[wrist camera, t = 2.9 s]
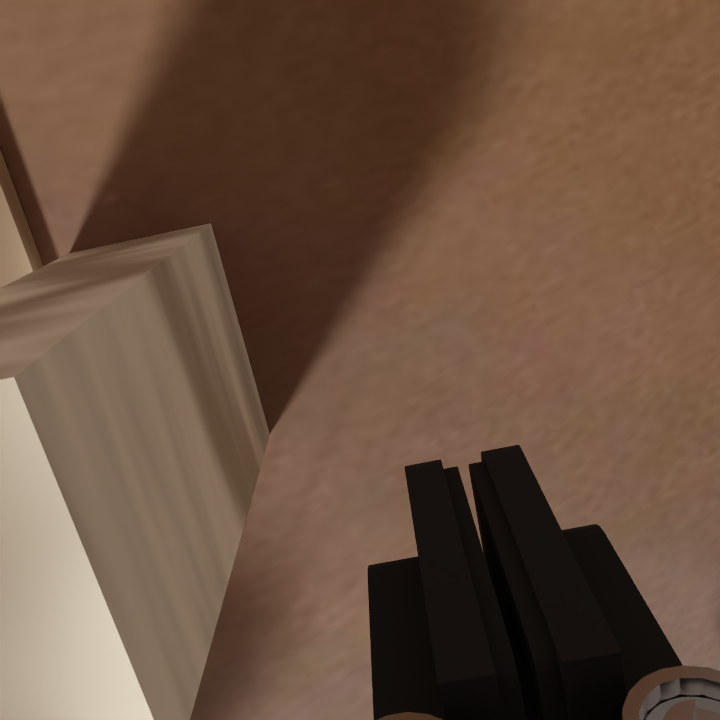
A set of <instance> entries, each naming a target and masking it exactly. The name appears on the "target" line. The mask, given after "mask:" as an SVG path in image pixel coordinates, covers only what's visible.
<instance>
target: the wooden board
mask: <svg viewBox="0 0 720 720" xmlns="http://www.w3.org/2000/svg"><path fill="white" fill-rule="evenodd" d="M41 267H43V263H42V261H41V258H40V255H39V252H38V250H37V247H36V244H35V242H34V239H33V236H32V234H31V231H30V228H29V225H28V223H27V220H26V217H25V215H24V212H23V209H22V207H21V204H20V201H19V198H18V196H17V193H16V190H15V188H14V185H13V182H12V180H11V177H10V174H9V171H8V169H7V166H6V163H5V161H4V158H3V155H2V153H1V150H0V288H1V287H3V286H5V285H7V284H9V283H11V282H13V281H15V280H17V279H19V278H21V277H23V276H25V275H27V274H29V273H31V272H33V271H35V270H37V269H39V268H41Z"/></svg>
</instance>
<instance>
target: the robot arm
mask: <svg viewBox="0 0 720 720" xmlns="http://www.w3.org/2000/svg"><path fill="white" fill-rule="evenodd" d="M481 460H482V462H478V463H473V464H469V471H470V477H471V483H472V489H473V495H474V501H475V506H476V512H477V518H478V524H479V530H480V536H481V541H482V547H483V550H482V547H481V544H480V540H479V537H478V534H477V530H476V527H475V524H474V520H473V517H472V513H471V510H470V507H469V503H468V500H467V497H466V493H465V490H464V487H463V483H462V480H461V476H460V473H459V470H458V467H452V468H447V469H443V466H442V462H441V460H435V461H430V462H425V463H420V464H414V465H409V466H405V473H406V479H407V486H408V492H409V499H410V505H411V512H412V518H413V525H414V531H415V538H416V544H417V551H418V557H412V558H407V559H401V560H396V561H390V562H385V563H379V564H374V565H369V566H368V593H369V616H370V640H371V664H372V687H373V711H374V720H720V671H718V670H715V669H712V668H708V667H697V666H683V665H682V663H681V662H680V660H679V658H678V657H677V655H676V653H675V652H674V650H673V648H672V647H671V645H670V643H669V641H668V640H667V638H666V636H665V635H664V633H663V631H662V630H661V628H660V626H659V624H658V623H657V621H656V619H655V618H654V616H653V614H652V613H651V611H650V609H649V607H648V606H647V604H646V602H645V601H644V599H643V597H642V596H641V594H640V592H639V590H638V589H637V587H636V585H635V584H634V582H633V580H632V579H631V577H630V575H629V573H628V572H627V570H626V568H625V567H624V565H623V563H622V562H621V560H620V558H619V557H618V555H617V553H616V551H615V550H614V548H613V546H612V545H611V543H610V541H609V540H608V538H607V536H606V534H605V533H604V531H603V530H602V529H601V527H600V526H598V525H596V524H594V525H588V526H583V527H577V528H572V529H566V530H561V528H560V526H559V524H558V522H557V520H556V518H555V516H554V514H553V512H552V510H551V508H550V506H549V504H548V502H547V500H546V498H545V496H544V494H543V492H542V490H541V488H540V486H539V484H538V482H537V480H536V478H535V476H534V474H533V472H532V470H531V468H530V465H529V463H528V461H527V459H526V457H525V455H524V453H523V451H522V449H521V447H520V446H519V445H515V446H509V447H504V448H499V449H493V450H488V451H483V452H481ZM483 553H484V554H483Z"/></svg>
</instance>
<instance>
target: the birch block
mask: <svg viewBox="0 0 720 720" xmlns="http://www.w3.org/2000/svg"><path fill="white" fill-rule="evenodd" d="M269 435H270V433H269V429H268V426H267V422H266V418H265V415H264V411H263V408H262V404H261V401H260V397H259V393H258V390H257V386H256V383H255V379H254V376H253V372H252V368H251V365H250V361H249V358H248V354H247V350H246V347H245V343H244V340H243V336H242V333H241V329H240V325H239V322H238V318H237V315H236V311H235V308H234V304H233V300H232V297H231V293H230V290H229V286H228V283H227V279H226V275H225V272H224V268H223V265H222V261H221V257H220V254H219V250H218V247H217V243H216V240H215V236H214V232H213V229H212V225H211V223H209V224H205V225H200V226H195V227H190V228H186V229H181V230H176V231H172V232H167V233H162V234H157V235H153V236H148V237H143V238H138V239H134V240H129V241H124V242H119V243H115V244H110V245H105V246H101V247H96V248H91V249H86V250H82V251H77V252H72V253H69V254H67V255H65V256H63V257H61V258H59V259H57V260H55V261H53V262H51V263H49V264H47V265H45V266H43V267H41V268H39V269H37V270H35V271H33V272H31V273H29V274H27V275H25V276H23V277H21V278H19V279H17V280H15V281H13V282H11V283H9V284H7V285H5V286H3V287H1V288H0V720H190V718H191V715H192V711H193V708H194V704H195V700H196V697H197V693H198V690H199V686H200V682H201V679H202V675H203V672H204V668H205V664H206V661H207V657H208V654H209V650H210V647H211V643H212V639H213V636H214V632H215V629H216V625H217V621H218V618H219V614H220V611H221V607H222V604H223V600H224V596H225V593H226V589H227V586H228V582H229V578H230V575H231V571H232V568H233V564H234V560H235V557H236V553H237V550H238V546H239V543H240V539H241V535H242V532H243V528H244V525H245V521H246V517H247V514H248V510H249V507H250V503H251V500H252V496H253V492H254V489H255V485H256V482H257V478H258V474H259V471H260V467H261V464H262V460H263V456H264V453H265V449H266V446H267V442H268V439H269Z"/></svg>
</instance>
